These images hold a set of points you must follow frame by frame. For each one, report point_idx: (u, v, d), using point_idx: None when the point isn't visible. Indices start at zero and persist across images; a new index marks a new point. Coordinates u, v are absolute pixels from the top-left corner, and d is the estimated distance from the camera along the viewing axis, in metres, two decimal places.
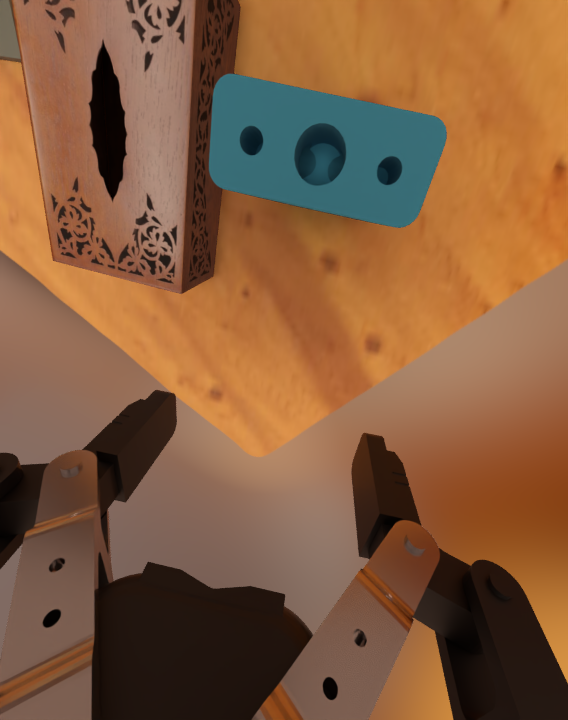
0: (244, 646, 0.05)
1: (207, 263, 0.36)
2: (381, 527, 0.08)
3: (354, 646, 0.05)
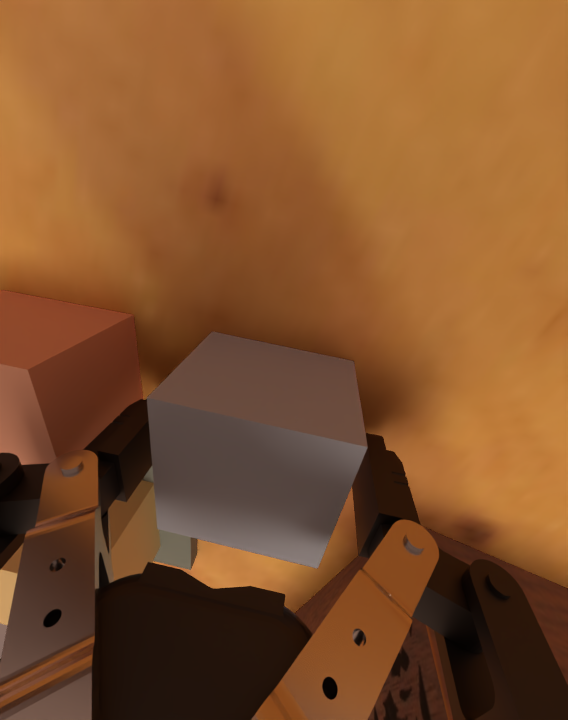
0: (244, 646, 0.05)
1: None
2: (380, 526, 0.08)
3: (354, 645, 0.05)
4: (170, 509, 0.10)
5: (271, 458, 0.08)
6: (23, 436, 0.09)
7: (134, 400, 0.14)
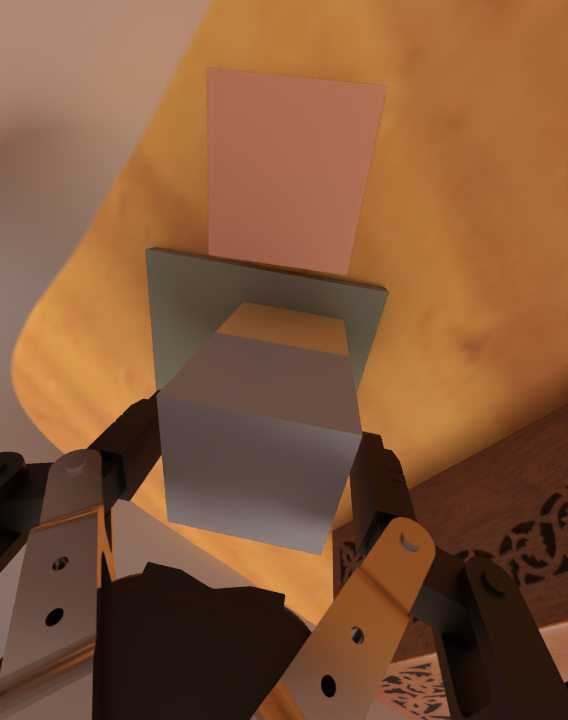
0: (244, 646, 0.05)
1: None
2: (377, 524, 0.08)
3: (352, 643, 0.05)
4: (180, 502, 0.10)
5: (273, 449, 0.09)
6: (340, 181, 0.11)
7: None
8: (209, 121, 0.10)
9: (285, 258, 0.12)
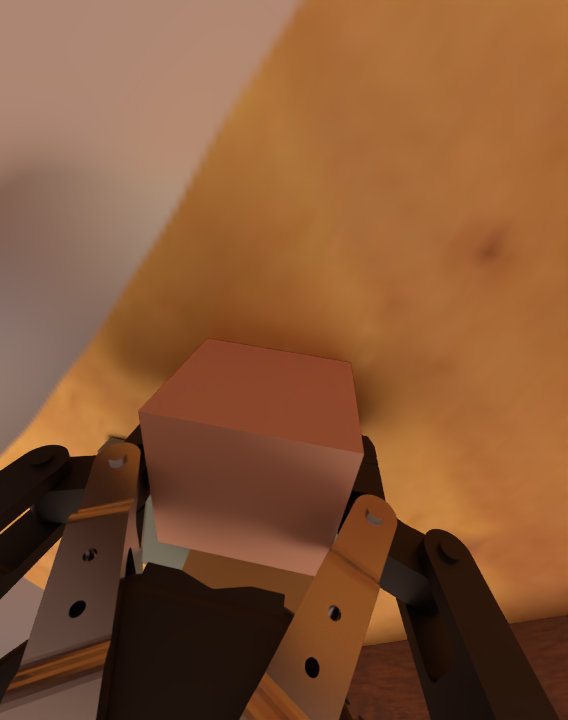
0: (244, 646, 0.05)
1: None
2: (347, 502, 0.09)
3: (331, 621, 0.05)
4: None
5: None
6: (309, 513, 0.09)
7: None
8: (147, 443, 0.08)
9: (248, 556, 0.10)
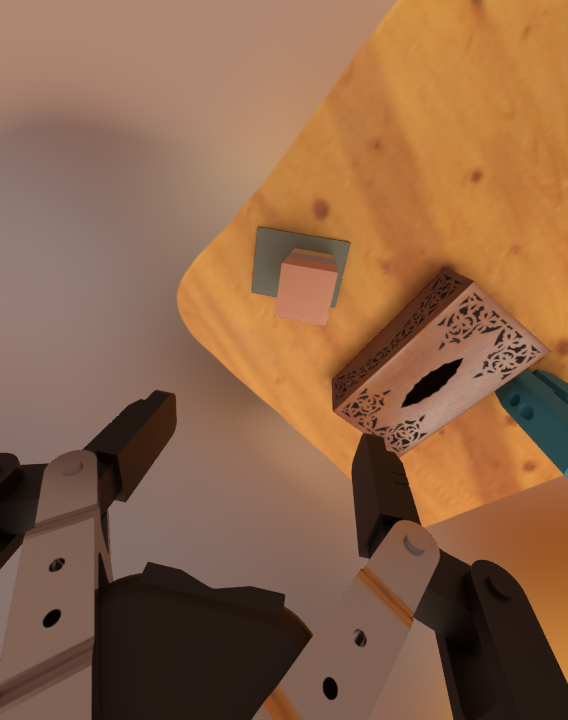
0: (244, 646, 0.05)
1: None
2: (381, 527, 0.08)
3: (354, 646, 0.05)
4: None
5: None
6: (323, 296, 0.31)
7: None
8: (280, 275, 0.31)
9: (303, 319, 0.33)
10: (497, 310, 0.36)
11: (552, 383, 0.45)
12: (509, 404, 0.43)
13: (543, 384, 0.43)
